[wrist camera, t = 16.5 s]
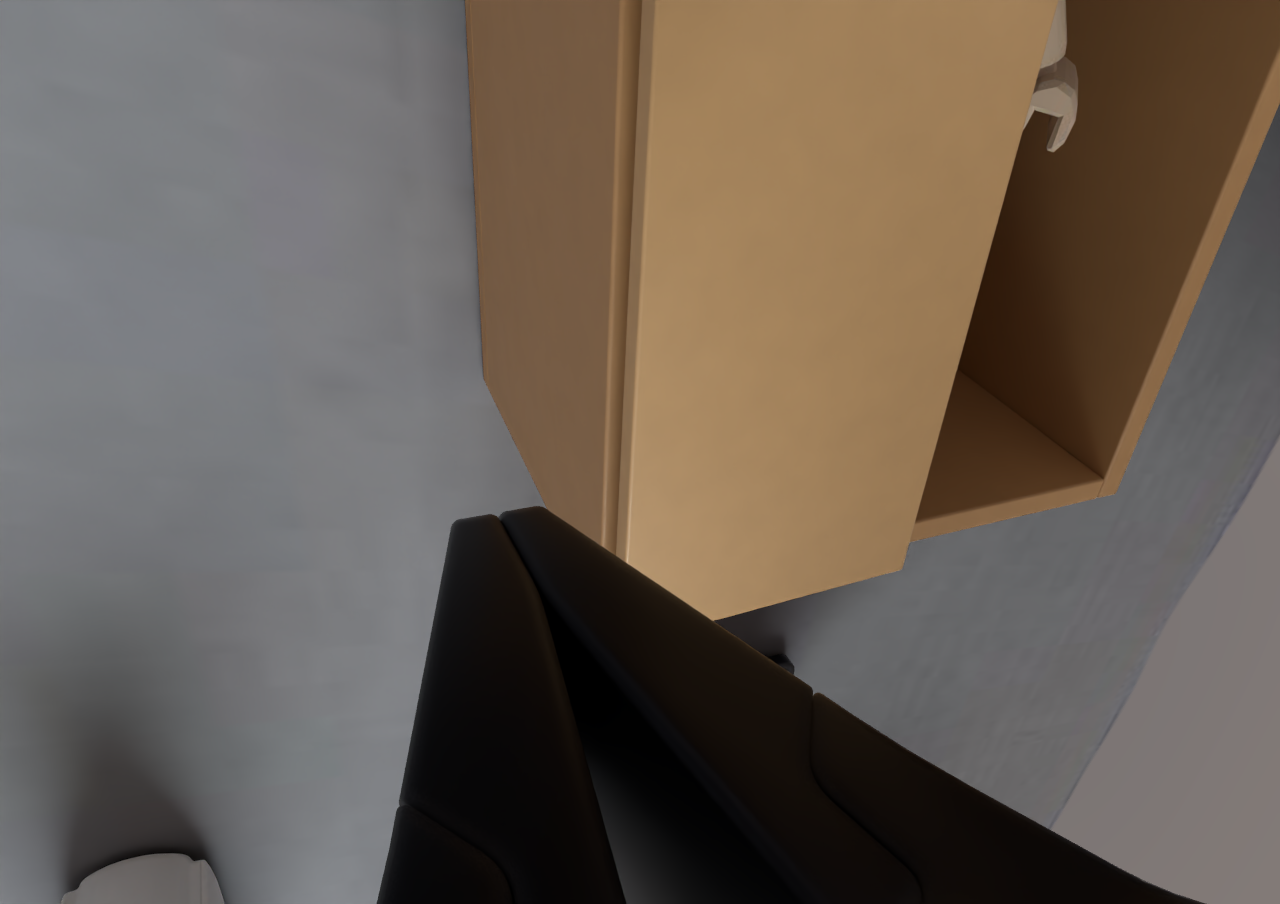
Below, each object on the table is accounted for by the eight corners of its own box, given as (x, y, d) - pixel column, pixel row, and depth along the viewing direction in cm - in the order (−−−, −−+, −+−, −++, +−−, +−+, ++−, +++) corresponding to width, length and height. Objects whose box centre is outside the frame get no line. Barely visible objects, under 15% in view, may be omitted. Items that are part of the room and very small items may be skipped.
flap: (889, 556, 17) (903, 570, 16) (611, 630, 15) (620, 647, 14) (1394, -1366, 7) (1452, -1422, 6) (728, -1894, 5) (767, -2006, 4)
